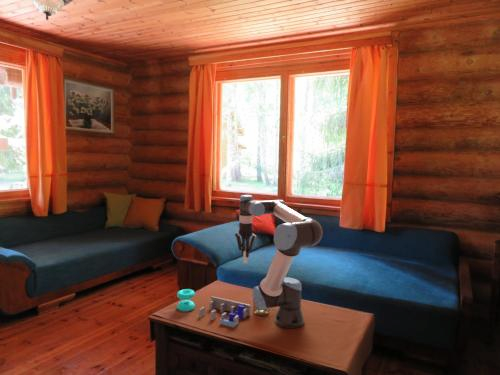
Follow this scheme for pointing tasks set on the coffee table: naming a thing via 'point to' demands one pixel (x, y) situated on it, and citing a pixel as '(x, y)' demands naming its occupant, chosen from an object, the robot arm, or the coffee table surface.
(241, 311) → the blue curved block
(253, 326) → the coffee table surface
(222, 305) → the grey peg rack
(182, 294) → the donuts
